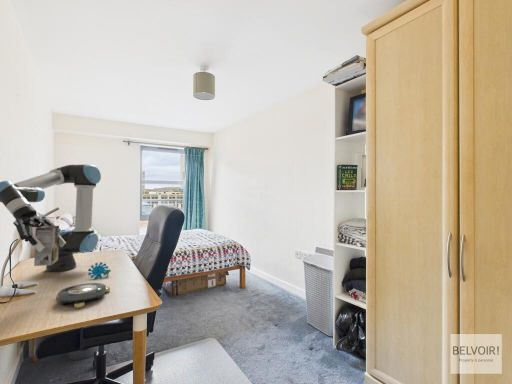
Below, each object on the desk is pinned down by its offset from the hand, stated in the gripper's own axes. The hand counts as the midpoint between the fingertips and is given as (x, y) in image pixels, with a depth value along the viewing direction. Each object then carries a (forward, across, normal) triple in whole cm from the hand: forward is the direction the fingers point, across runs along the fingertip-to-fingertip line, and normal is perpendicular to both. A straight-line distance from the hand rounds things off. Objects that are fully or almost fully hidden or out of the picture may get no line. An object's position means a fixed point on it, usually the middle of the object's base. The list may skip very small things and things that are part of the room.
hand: (53, 247), depth 118 cm
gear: (+16, -32, -17) cm, 40 cm away
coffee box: (+3, 0, -7) cm, 8 cm away
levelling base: (+24, -3, -8) cm, 26 cm away
